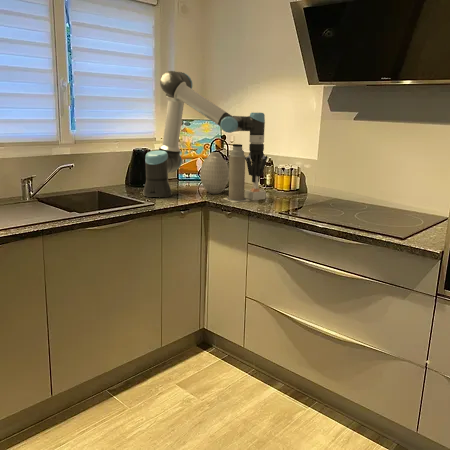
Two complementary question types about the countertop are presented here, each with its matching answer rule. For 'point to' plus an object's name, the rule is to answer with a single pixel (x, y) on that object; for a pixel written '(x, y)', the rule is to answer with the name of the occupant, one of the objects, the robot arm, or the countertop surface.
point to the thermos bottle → (236, 173)
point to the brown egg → (254, 190)
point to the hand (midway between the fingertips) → (255, 188)
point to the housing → (255, 195)
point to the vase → (214, 173)
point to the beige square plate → (236, 200)
